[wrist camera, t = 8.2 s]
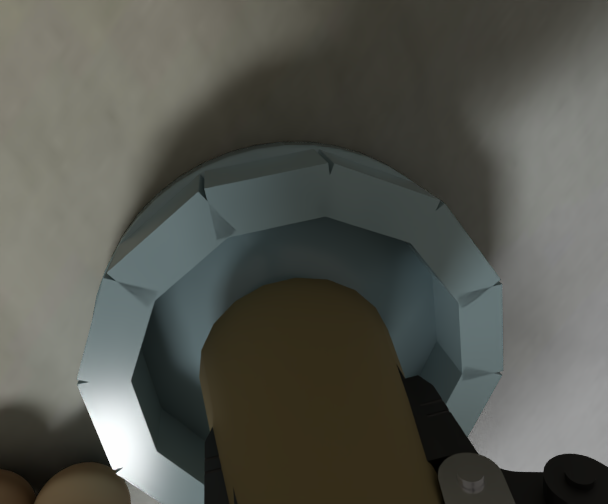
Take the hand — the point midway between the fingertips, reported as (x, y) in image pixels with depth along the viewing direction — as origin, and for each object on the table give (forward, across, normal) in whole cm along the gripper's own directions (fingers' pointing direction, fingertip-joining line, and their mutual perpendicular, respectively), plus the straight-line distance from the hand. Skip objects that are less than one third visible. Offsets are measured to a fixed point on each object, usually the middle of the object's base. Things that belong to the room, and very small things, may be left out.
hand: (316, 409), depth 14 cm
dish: (+5, 0, 0) cm, 5 cm away
